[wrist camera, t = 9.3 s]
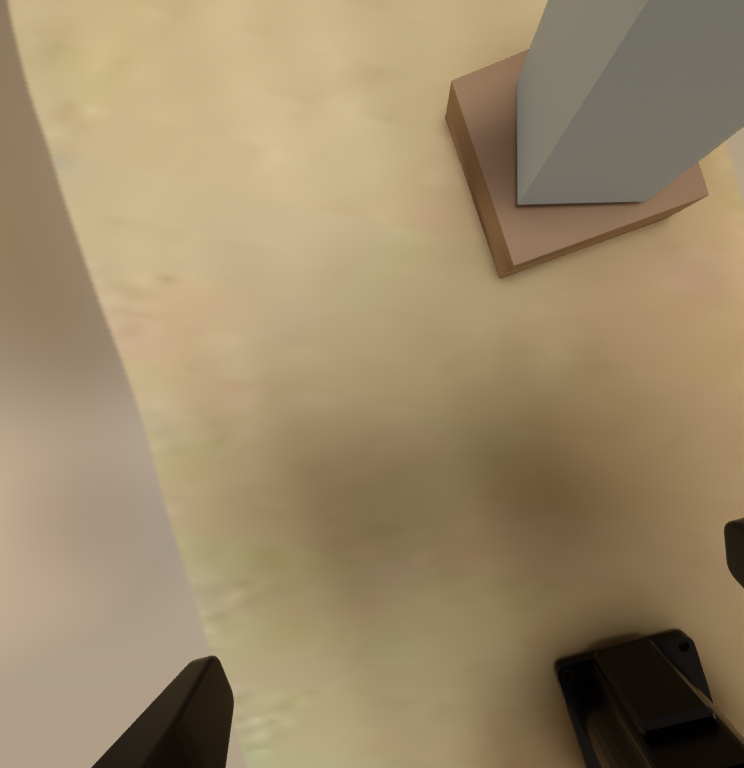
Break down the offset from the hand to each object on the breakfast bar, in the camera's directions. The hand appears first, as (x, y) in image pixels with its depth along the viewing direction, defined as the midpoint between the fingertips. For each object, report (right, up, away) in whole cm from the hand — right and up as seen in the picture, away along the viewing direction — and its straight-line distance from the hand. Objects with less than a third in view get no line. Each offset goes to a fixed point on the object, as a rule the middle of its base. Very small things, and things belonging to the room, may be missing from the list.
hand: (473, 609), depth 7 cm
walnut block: (+7, +14, +13) cm, 20 cm away
